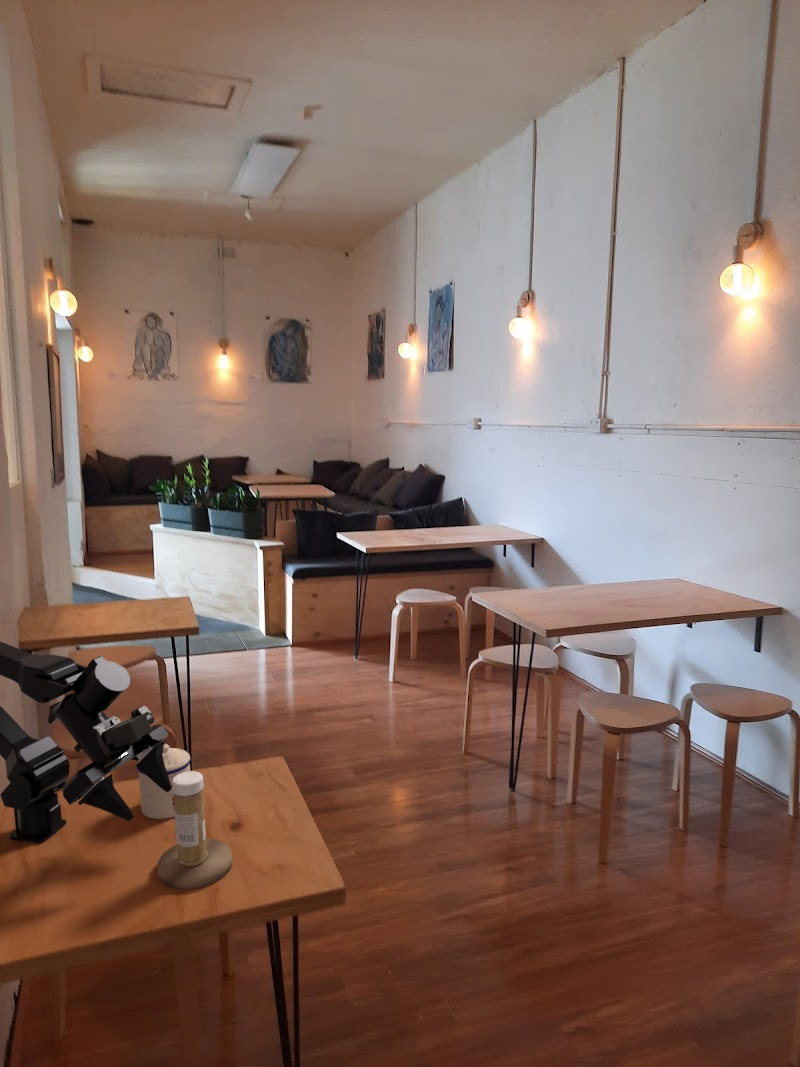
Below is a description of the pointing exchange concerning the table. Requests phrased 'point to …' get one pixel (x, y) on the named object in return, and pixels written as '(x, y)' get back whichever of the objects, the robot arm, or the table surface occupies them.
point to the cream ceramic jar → (154, 797)
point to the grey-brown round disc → (195, 867)
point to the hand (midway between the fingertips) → (151, 804)
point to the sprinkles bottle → (189, 818)
